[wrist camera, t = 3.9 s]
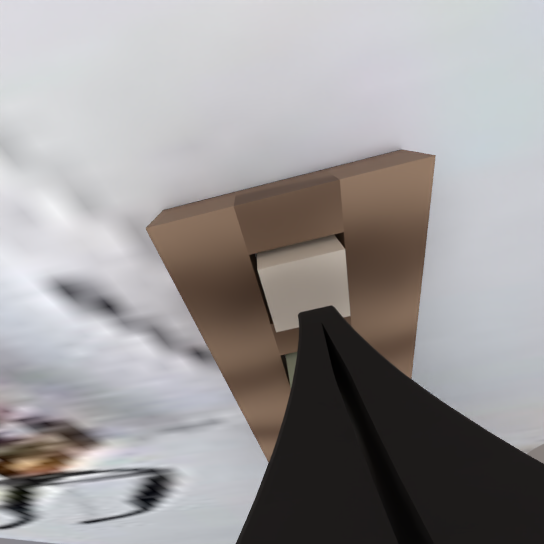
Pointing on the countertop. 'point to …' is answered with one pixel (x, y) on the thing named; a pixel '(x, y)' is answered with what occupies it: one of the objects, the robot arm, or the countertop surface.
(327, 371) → the robot arm
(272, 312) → the cream button
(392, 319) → the button panel
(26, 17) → the countertop surface
